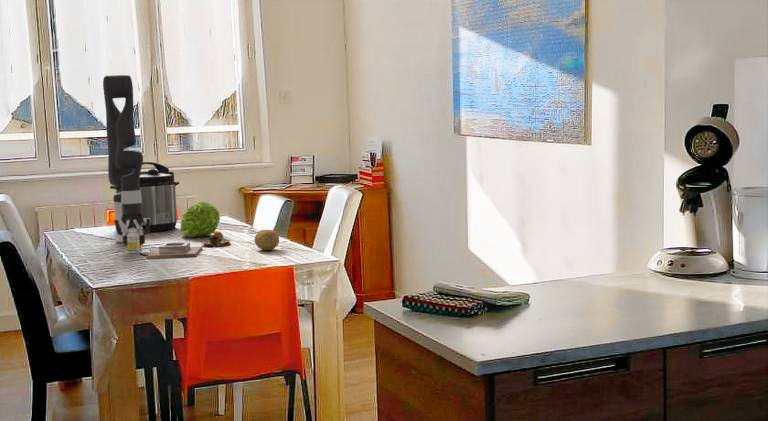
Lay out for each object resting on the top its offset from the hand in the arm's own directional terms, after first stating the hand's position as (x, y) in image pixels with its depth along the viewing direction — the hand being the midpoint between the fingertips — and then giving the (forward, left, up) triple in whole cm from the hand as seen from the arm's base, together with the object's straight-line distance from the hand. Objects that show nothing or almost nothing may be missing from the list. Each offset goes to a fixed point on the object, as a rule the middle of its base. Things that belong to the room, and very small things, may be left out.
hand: (134, 244), depth 353 cm
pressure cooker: (-70, -9, -3) cm, 71 cm away
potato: (+7, +52, -3) cm, 53 cm away
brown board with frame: (+8, +17, -3) cm, 19 cm away
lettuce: (-42, +19, -3) cm, 46 cm away
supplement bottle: (0, 0, -3) cm, 3 cm away
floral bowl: (-12, +30, -4) cm, 33 cm away
